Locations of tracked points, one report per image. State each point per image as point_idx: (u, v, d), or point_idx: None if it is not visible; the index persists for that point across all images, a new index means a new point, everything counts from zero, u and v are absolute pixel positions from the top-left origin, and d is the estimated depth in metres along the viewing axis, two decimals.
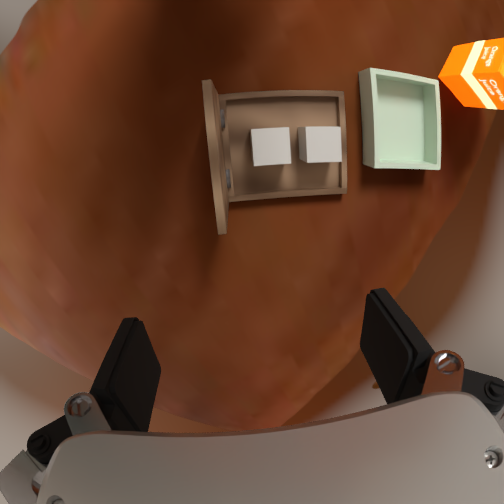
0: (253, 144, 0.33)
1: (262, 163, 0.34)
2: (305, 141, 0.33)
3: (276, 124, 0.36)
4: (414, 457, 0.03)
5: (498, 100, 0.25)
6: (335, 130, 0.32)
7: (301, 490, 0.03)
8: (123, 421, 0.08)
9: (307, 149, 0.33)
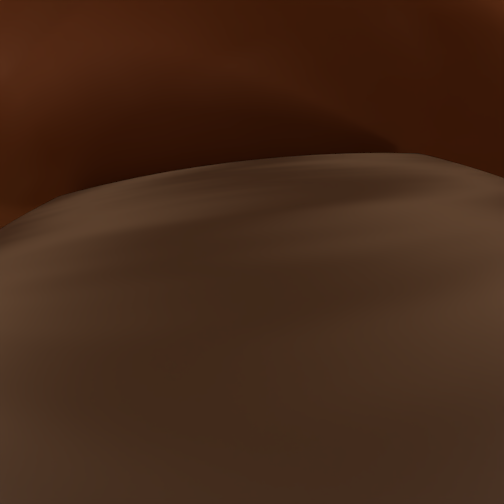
0: None
1: None
2: None
3: None
4: None
5: None
6: None
7: None
8: None
9: None
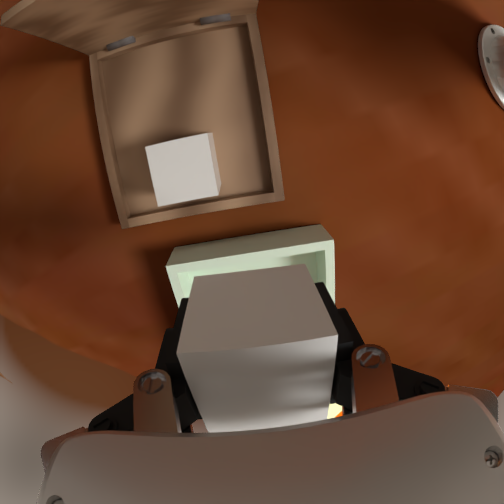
0: (271, 348, 0.08)
1: (193, 377, 0.08)
2: (181, 138, 0.19)
3: (212, 99, 0.21)
4: (414, 457, 0.03)
5: None
6: (209, 186, 0.20)
7: (301, 490, 0.03)
8: (191, 396, 0.09)
9: (167, 142, 0.19)
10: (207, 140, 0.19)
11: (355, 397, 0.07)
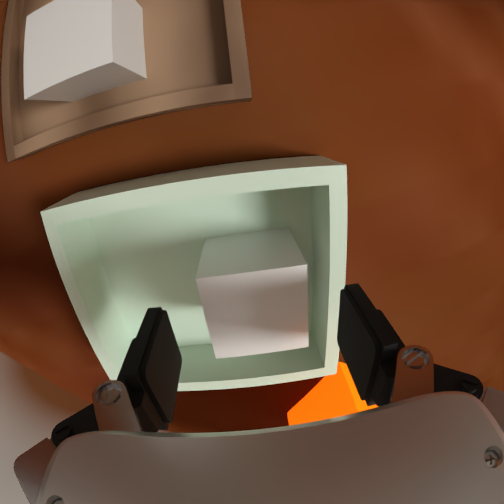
0: (261, 273, 0.12)
1: (206, 299, 0.12)
2: None
3: None
4: (414, 457, 0.03)
5: None
6: (100, 49, 0.08)
7: (301, 490, 0.03)
8: (151, 408, 0.08)
9: (54, 1, 0.06)
10: None
11: (407, 398, 0.06)
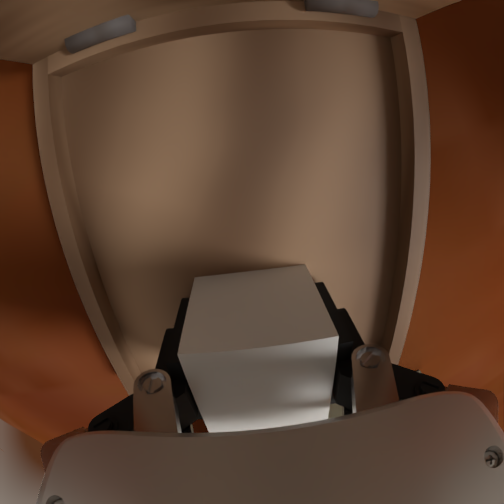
0: None
1: None
2: (270, 336, 0.08)
3: (313, 194, 0.11)
4: (414, 457, 0.03)
5: None
6: (316, 413, 0.09)
7: (301, 490, 0.03)
8: (192, 396, 0.09)
9: (236, 352, 0.08)
10: (335, 350, 0.08)
11: (355, 397, 0.07)
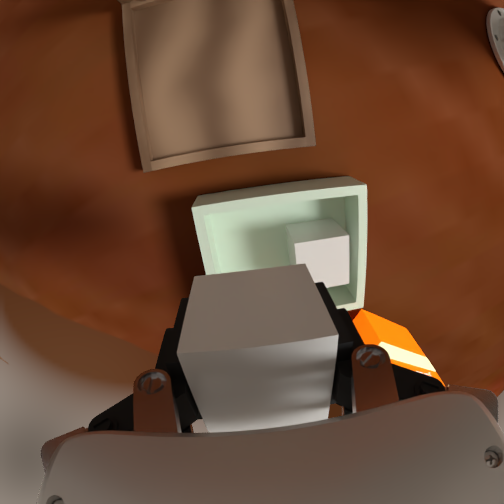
0: (327, 240, 0.22)
1: (298, 255, 0.23)
2: (270, 334, 0.08)
3: (244, 47, 0.20)
4: (414, 457, 0.03)
5: None
6: (315, 412, 0.09)
7: (301, 490, 0.03)
8: (191, 396, 0.09)
9: (236, 351, 0.08)
10: (334, 348, 0.08)
11: (355, 397, 0.07)
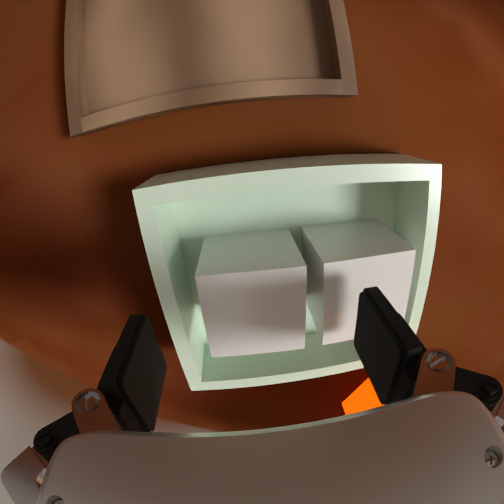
0: (381, 257, 0.12)
1: (329, 284, 0.12)
2: (259, 265, 0.12)
3: None
4: (414, 457, 0.03)
5: None
6: (294, 338, 0.13)
7: (301, 490, 0.03)
8: (131, 417, 0.08)
9: (236, 274, 0.12)
10: (305, 277, 0.12)
11: None
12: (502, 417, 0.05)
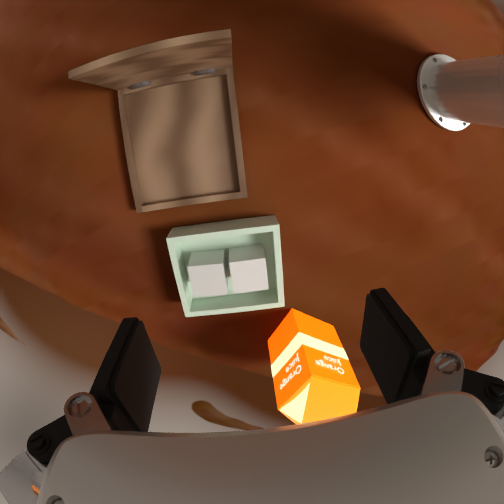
0: (250, 261, 0.36)
1: (232, 269, 0.36)
2: (208, 263, 0.36)
3: (201, 128, 0.33)
4: (414, 457, 0.03)
5: (281, 377, 0.38)
6: (222, 290, 0.37)
7: (301, 490, 0.03)
8: (123, 421, 0.08)
9: (200, 266, 0.36)
10: (222, 267, 0.36)
11: None
12: None
